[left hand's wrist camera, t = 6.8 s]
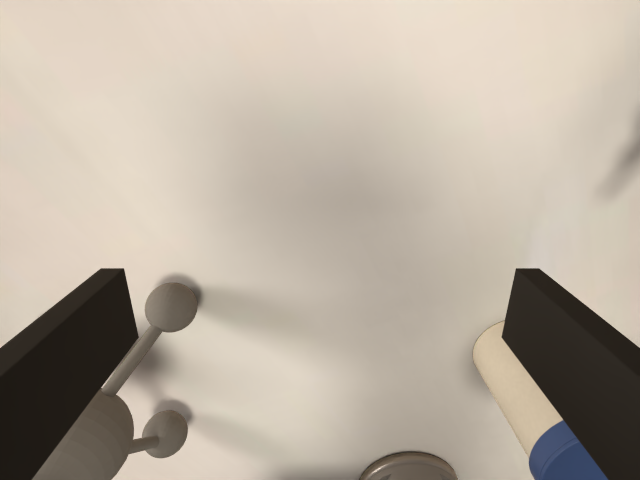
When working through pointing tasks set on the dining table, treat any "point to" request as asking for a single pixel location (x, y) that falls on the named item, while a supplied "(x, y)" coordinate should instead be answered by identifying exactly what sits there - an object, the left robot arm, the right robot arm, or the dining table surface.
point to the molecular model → (124, 406)
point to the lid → (562, 457)
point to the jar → (513, 388)
